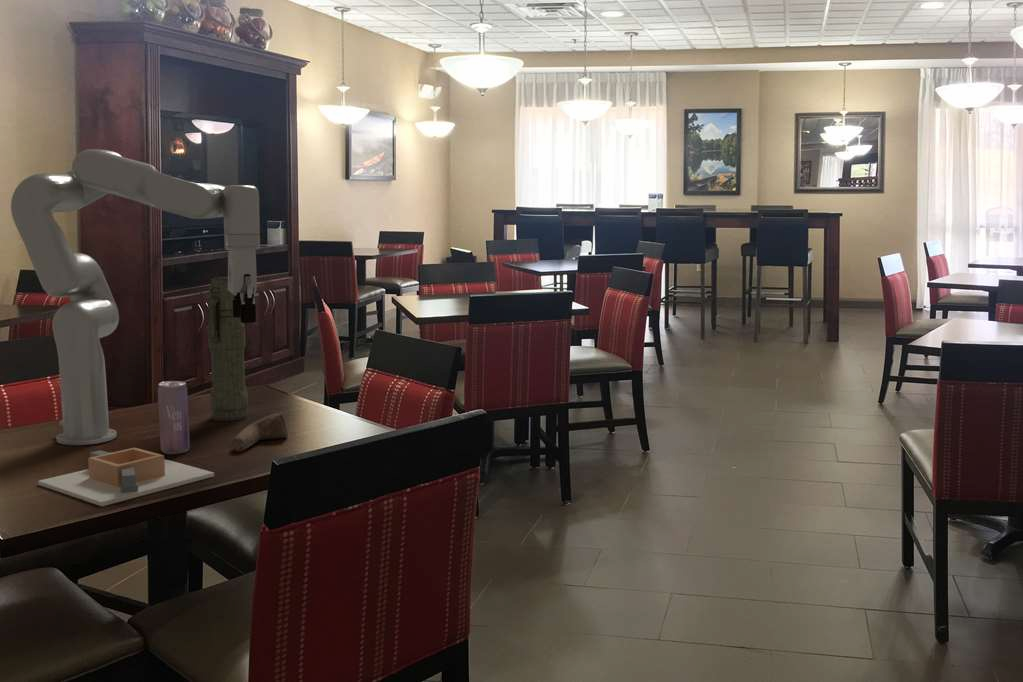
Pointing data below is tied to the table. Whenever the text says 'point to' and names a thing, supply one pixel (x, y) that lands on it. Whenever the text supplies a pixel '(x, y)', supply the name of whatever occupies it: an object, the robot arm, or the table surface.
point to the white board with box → (124, 476)
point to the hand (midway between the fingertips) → (244, 319)
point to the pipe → (261, 431)
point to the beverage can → (173, 417)
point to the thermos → (226, 355)
